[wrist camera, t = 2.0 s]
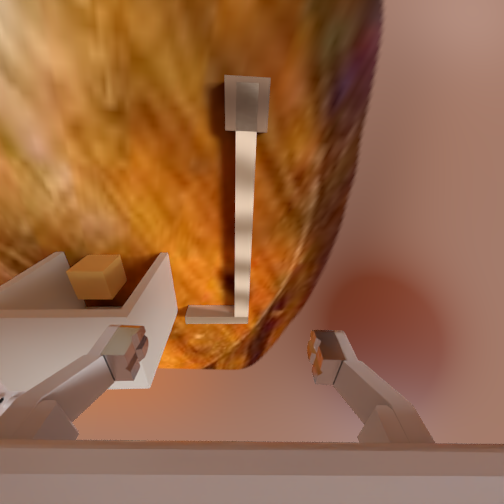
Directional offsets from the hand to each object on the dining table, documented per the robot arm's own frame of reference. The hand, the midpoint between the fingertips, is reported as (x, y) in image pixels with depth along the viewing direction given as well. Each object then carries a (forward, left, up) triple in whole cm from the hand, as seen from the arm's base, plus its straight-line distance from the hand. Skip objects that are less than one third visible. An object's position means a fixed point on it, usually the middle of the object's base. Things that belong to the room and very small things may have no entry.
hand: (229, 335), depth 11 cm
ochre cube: (-11, +21, -24) cm, 34 cm away
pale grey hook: (-3, +3, -24) cm, 24 cm away
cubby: (-14, +20, -24) cm, 34 cm away
